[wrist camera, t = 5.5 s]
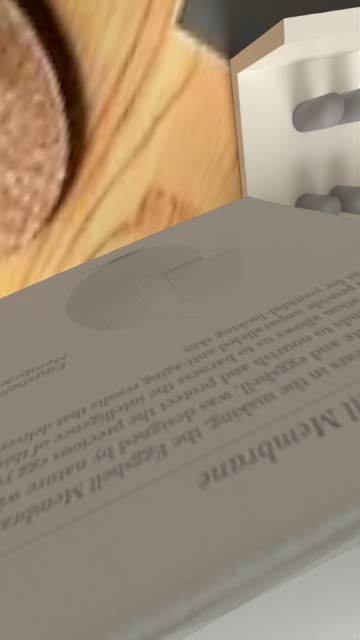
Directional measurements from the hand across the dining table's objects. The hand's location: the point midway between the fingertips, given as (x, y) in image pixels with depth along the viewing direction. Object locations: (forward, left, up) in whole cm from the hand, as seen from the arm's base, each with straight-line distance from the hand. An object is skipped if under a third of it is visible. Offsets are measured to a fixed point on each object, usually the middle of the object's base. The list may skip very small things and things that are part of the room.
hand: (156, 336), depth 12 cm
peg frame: (+17, +3, -16) cm, 23 cm away
